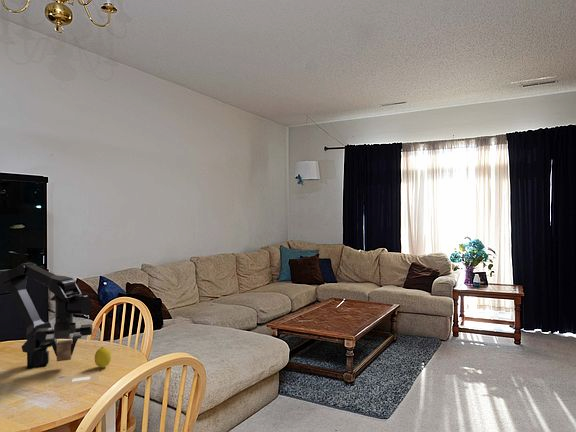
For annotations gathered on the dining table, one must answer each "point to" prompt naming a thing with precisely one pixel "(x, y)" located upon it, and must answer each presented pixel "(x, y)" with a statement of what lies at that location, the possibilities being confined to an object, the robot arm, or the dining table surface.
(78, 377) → the envelope
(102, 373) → the dining table surface
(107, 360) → the lemon
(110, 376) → the dining table surface
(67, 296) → the robot arm
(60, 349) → the walnut block
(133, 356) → the dining table surface
